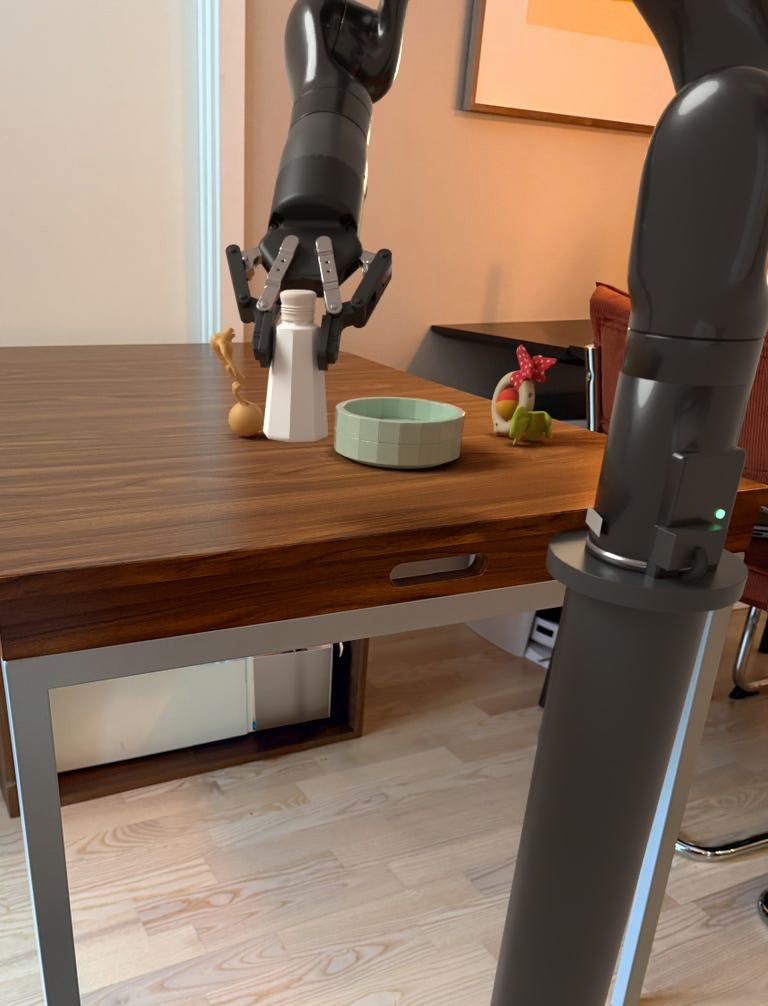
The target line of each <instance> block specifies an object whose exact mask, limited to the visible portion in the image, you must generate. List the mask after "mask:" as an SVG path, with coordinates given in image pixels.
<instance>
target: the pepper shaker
mask: <svg viewBox="0 0 768 1006" xmlns="http://www.w3.org/2000/svg"><path fill="white" fill-rule="evenodd" d="M316 297H317V294H316V293H315V292H313V291H310V290H285V291H283V292H281V293H280V298H281V302H282V305H281V307H282V308H281V310H282V311H281V312H282V314H281V316H280V320H281V322H280V323H277V324H276V325H275V327H274V333H273V350H272V361H271V367H270V368H269V371H268V379H267V389H266V399H265V410H264V417H263V426H262V427H263V429H262V432H263V434H264V435H265V436H266V437H267V439H268V440H273V441H279V442H284V443H314V442H317V441H320V440H323V439H326V438H327V437H328V436H329V426H328V411H327V396H326V395H327V394H326V379H325V376H326V375H325V371H320V370H318V362H317V349H318V342H319V335H320V329H321V326H320V325H318V324H316V323H315V313H316V305H315V304H316V301H317V298H316Z"/></svg>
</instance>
